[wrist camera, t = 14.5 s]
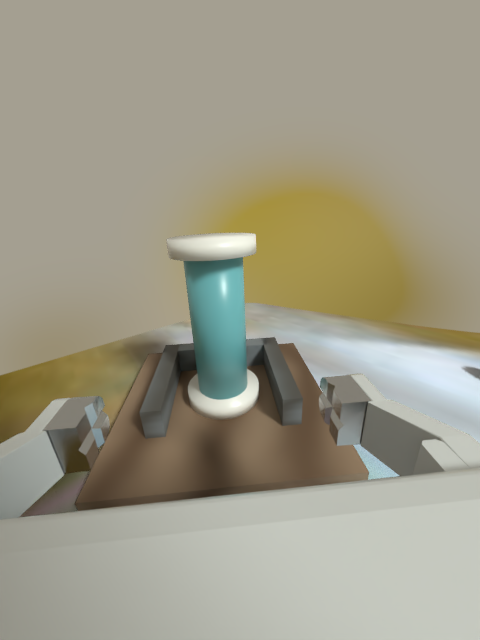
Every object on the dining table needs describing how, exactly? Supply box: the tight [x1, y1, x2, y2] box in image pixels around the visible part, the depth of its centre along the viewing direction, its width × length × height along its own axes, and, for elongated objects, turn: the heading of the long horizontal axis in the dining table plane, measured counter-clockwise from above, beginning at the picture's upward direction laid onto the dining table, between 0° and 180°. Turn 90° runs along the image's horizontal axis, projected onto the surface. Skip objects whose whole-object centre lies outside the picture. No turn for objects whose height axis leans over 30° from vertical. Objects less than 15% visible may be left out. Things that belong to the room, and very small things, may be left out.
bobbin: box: [167, 233, 259, 420], centre depth 22 cm, size 6×6×14 cm
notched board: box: [75, 337, 369, 511], centre depth 24 cm, size 18×18×4 cm
